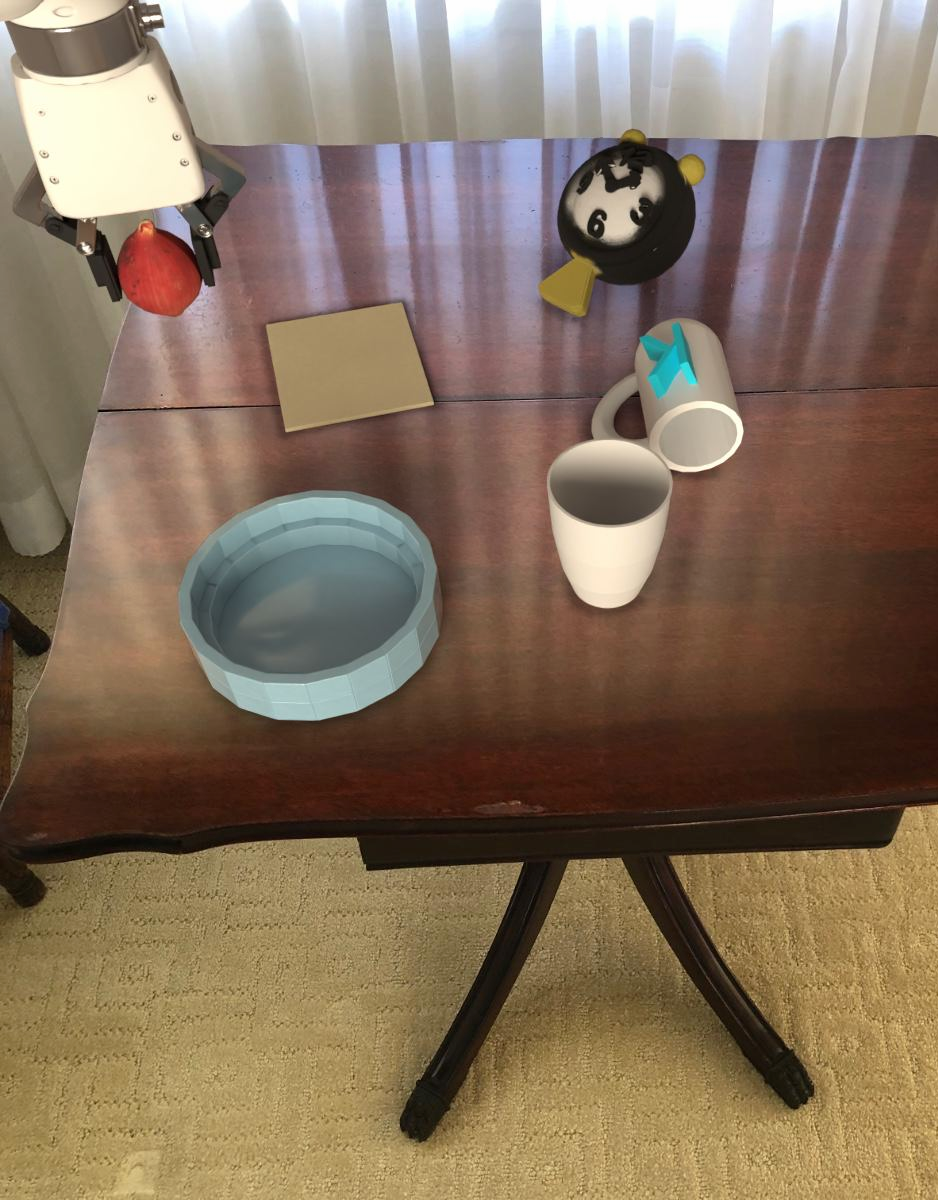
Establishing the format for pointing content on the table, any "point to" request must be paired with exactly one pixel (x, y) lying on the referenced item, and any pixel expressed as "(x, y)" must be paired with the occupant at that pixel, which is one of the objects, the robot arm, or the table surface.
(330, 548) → the pan
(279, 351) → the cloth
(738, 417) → the mug
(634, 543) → the cup
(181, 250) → the onion
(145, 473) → the table surface
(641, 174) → the alarm clock
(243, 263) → the table surface
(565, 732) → the table surface
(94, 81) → the robot arm
